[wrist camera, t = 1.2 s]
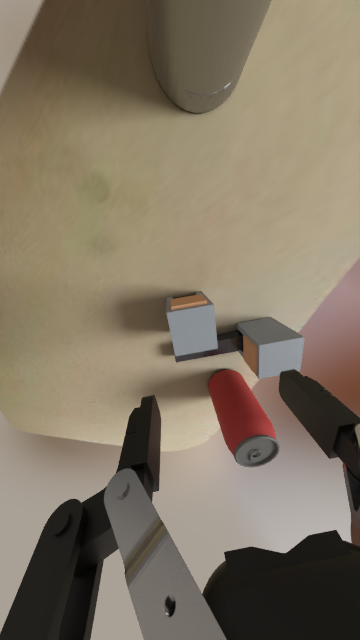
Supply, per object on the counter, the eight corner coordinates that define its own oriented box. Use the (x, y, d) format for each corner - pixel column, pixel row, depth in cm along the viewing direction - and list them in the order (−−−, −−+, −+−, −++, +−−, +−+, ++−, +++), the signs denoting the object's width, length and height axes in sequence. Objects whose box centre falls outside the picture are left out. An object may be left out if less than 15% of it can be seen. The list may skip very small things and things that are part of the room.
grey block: (173, 331, 26) (175, 356, 20) (165, 294, 24) (165, 309, 18) (205, 325, 27) (217, 348, 20) (200, 288, 24) (213, 300, 18)
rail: (172, 342, 27) (173, 349, 25) (268, 325, 27) (276, 330, 26) (175, 355, 28) (176, 362, 26) (268, 338, 28) (275, 343, 26)
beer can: (204, 395, 32) (225, 470, 21) (210, 366, 30) (237, 434, 18) (237, 396, 33) (274, 469, 21) (246, 368, 30) (292, 434, 19)
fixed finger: (234, 323, 27) (256, 345, 20) (271, 317, 27) (304, 337, 20) (235, 351, 29) (255, 379, 22) (269, 344, 29) (299, 371, 22)
